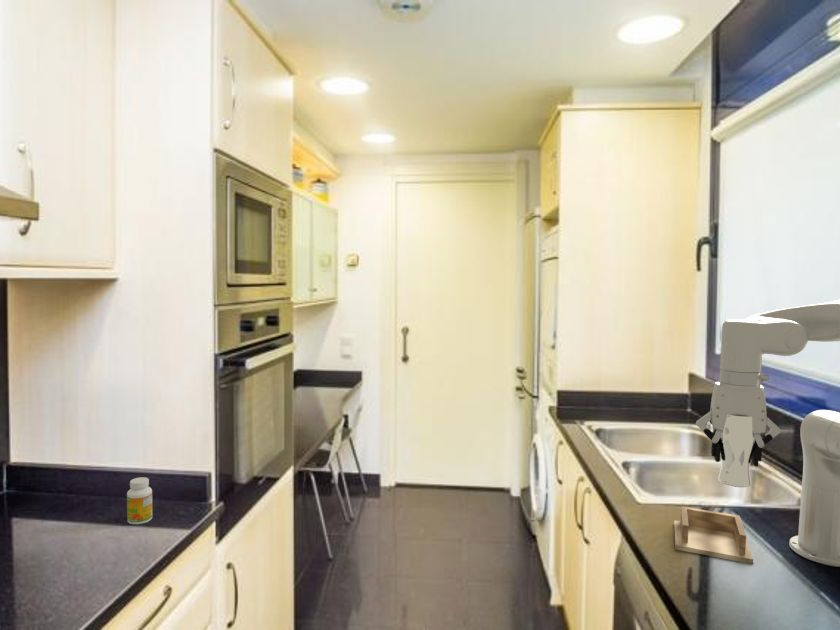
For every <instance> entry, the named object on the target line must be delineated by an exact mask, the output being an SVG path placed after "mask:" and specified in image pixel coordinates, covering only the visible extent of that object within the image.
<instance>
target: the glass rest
mask: <svg viewBox="0 0 840 630" xmlns="http://www.w3.org/2000/svg"><path fill="white" fill-rule="evenodd" d="M680 507H681V508H680V519H679V520H676V519H674V521H673V530H674V547H675V548H674V549H675V550H677V551H682V552H687V553H693V554H698V555H699V554H700V555H703V556H709V557H715V558H720V559H725V560H731V561H735V562H741V563H746V564H751V565H753V564H754V557H753V554H752V551H751V548H750V545H749V542H748V538H747V534H746V531H745V527H744V524H743V522H742V518H741V516H740V515H739V514H733V513H731V514H730V513H726V512H719V511H713V510H706V509H701V508H693V507H689V506H688V507H687V506H683V505H682V506H680Z"/></svg>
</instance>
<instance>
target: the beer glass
mask: <svg viewBox="0 0 840 630" xmlns="http://www.w3.org/2000/svg"><path fill="white" fill-rule="evenodd" d="M755 438H756V434H755V432H754V424H753V416H735V415H729V414H727V418H726V422H725V426H724V429H723V431H721V437H720V439H719V443H720V444H721V450H720V471H719V474H718V481H719V482H720V483H721V484H724V485H726V486H729V487H734V488H748V487H750V486H751V485H752V479H751V473H750V471H751V470H750V469H751V463H752V462H751V458H752V454H753V450H754V446H755V441H756V440H755Z"/></svg>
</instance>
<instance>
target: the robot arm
mask: <svg viewBox="0 0 840 630" xmlns="http://www.w3.org/2000/svg"><path fill="white" fill-rule="evenodd" d="M720 341H721V342H720V343H721V344H720V360H719V361H720V362H719V365H720V366H719V381H716V382H714V385H713V390H712V394H711V401H710V409H709V411H708V412H707V413H706V414H704V415H703V416H702V417H700V418H699V419H697V420H696V421H695V424H696V426H697V427H698V428H699V430H701V431H702V433H704V435H705V436H706V437H707V438H708V439H709V440H710V441H711V451H710V453H711V455H710V456H711V457H713V458H714V461H715V463H719V462H720V463H721V454H720V450H721V444H720V443H719V439H720V437H721V431H723V429H724V426H725V422H726V418H727V414H729V415H735V416H753V424H754V432H755V434H756V438H755V440H756V441H755V446H754V450H753V454H752V458H751V462H750V463H752V465H753V466H754V467H758V466H759V462H762V454H763V448H764V447H765V445H767V444H768V443H770V442H772V440H773V439H774V438H776V437H777V436H778V435H779V434H781V432H782V429H780V427H778V426H777V424H776V423H774V422H773V421H772V420H771V419H770V418H769V417H768V416H767V399H766V391H765V388H764V386H763V385H762V383H763V382H769V380H770V375H769V374H765V373H763V372H762V362H763V360H762V359H763V355H773V356H780V357H791V356H793V355H797V354H799V353H800V352H802V351H803V350H804V349H805V348H806V346H807V344H808V342H822V343H823V342H825V343H826V342H829V343H830V342H831V343H832V342H840V299H838V300H834V301H829V302H824V303H823V302H822V303H817V304H816V303H815V304H809V305H802V306H794V307H788V308H781V309H780V308H779V309H775V310H771V311H766V312H763V313H762V312H761V313H758V314H754V315H751V316H748V317H747V318H744V319H742V318H741V319H740V318H738V319H737V318H734V319H733V318H732V319H727V320H725V321H724V322H723V323H722V327H721V340H720ZM708 422H709V424H710V425H711V426H712V428H713V431H712V430H711V429H710V428H708V426H707V425H706V424H707V423H708ZM767 427H768V428H769V431H768V432H766V431H767ZM799 432H800V433H799V435H800V442H801V447H802V458H803V460H802V462H803V463H802V464H803V465H802V481H801V490H800V491H801V492H800V506H799V520H798V521H799V522H798V532H797V533H798V534H797V535H795V536H792V537H791V538H790V539H789V542H788V543H789V548H791V550H792V551H794V553H796V554H797V555H799V556H801V557H803V558H805V559H807V560H810V561H812V562H816V563H819V564H821V565H826V566H830V567H837V568H840V412H838V411H835V410H829V409H818V410H813V411H811V412H810V413H808V414H807V415H806V416H805V417H804V418H803V420H802V421H801V424H800V431H799Z"/></svg>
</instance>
